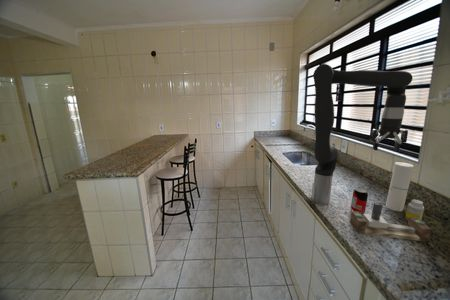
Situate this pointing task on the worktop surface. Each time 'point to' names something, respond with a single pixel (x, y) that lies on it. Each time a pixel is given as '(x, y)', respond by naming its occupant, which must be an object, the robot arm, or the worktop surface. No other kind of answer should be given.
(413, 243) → the worktop surface
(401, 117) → the robot arm
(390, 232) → the rail
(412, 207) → the supplement bottle
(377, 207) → the carriage
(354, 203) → the beverage can
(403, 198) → the cylindrical container
